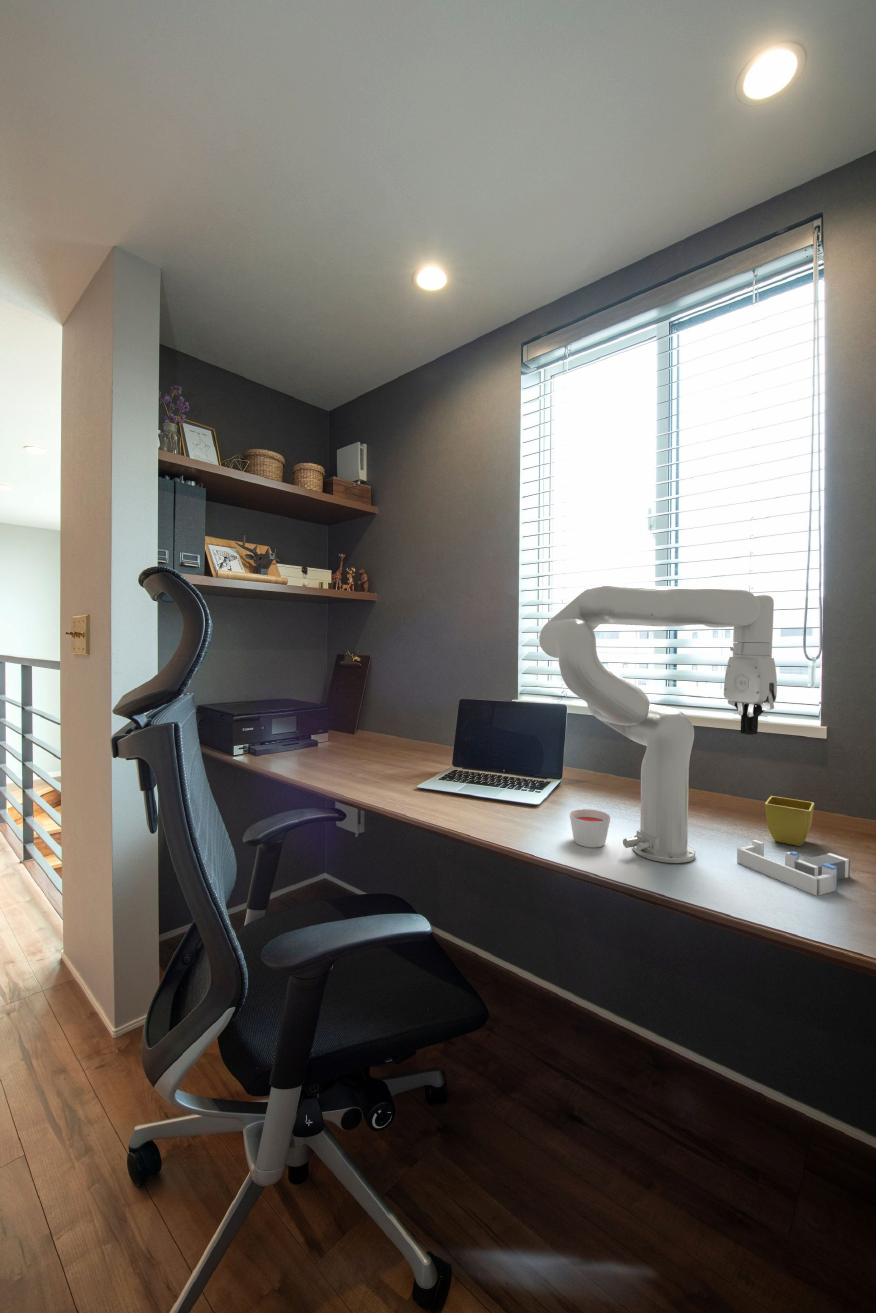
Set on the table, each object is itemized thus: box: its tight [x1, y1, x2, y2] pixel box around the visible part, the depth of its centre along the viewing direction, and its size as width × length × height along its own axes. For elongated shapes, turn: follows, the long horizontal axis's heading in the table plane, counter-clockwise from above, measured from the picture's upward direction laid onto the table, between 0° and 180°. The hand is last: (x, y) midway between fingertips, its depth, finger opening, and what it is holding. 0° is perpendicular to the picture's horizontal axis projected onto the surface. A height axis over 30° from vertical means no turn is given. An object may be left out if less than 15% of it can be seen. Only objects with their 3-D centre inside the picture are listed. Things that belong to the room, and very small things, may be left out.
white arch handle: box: [736, 839, 838, 897], centre depth 107 cm, size 6×16×4 cm, turn 23°
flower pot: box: [764, 795, 815, 847], centre depth 125 cm, size 9×9×9 cm
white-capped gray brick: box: [795, 852, 851, 881], centre depth 106 cm, size 11×4×4 cm, turn 112°
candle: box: [569, 808, 611, 849], centre depth 124 cm, size 9×9×6 cm
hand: (748, 733), depth 121 cm, fingers closed
